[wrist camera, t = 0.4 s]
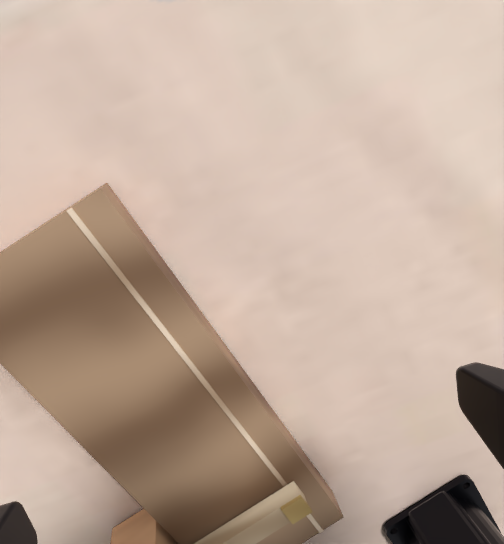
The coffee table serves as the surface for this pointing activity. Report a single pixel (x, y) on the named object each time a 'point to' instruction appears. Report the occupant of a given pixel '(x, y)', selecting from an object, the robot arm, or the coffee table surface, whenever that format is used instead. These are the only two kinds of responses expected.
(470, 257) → the coffee table surface
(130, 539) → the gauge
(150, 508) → the board
